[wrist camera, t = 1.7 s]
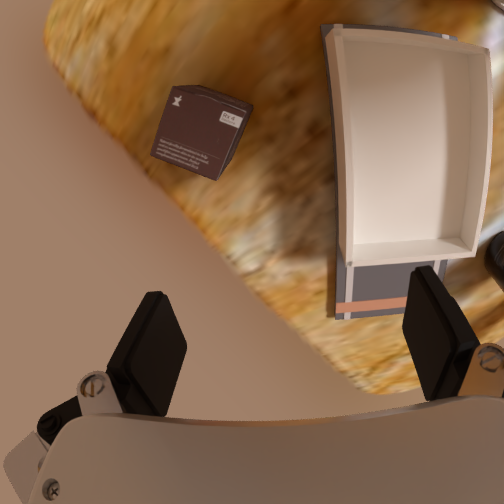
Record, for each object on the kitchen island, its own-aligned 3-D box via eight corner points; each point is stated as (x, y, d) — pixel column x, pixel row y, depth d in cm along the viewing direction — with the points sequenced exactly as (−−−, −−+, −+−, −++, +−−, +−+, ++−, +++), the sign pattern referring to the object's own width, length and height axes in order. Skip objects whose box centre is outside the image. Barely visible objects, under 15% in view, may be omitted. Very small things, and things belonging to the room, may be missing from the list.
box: (176, 138, 29) (147, 155, 23) (197, 83, 26) (171, 84, 20) (232, 160, 30) (216, 183, 23) (256, 105, 27) (247, 111, 20)
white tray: (323, 38, 21) (332, 28, 17) (460, 50, 19) (489, 48, 15) (337, 239, 31) (345, 267, 27) (454, 232, 29) (475, 256, 25)
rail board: (320, 26, 22) (321, 24, 21) (452, 37, 20) (457, 37, 19) (334, 314, 38) (335, 320, 37) (433, 304, 36) (435, 309, 35)
